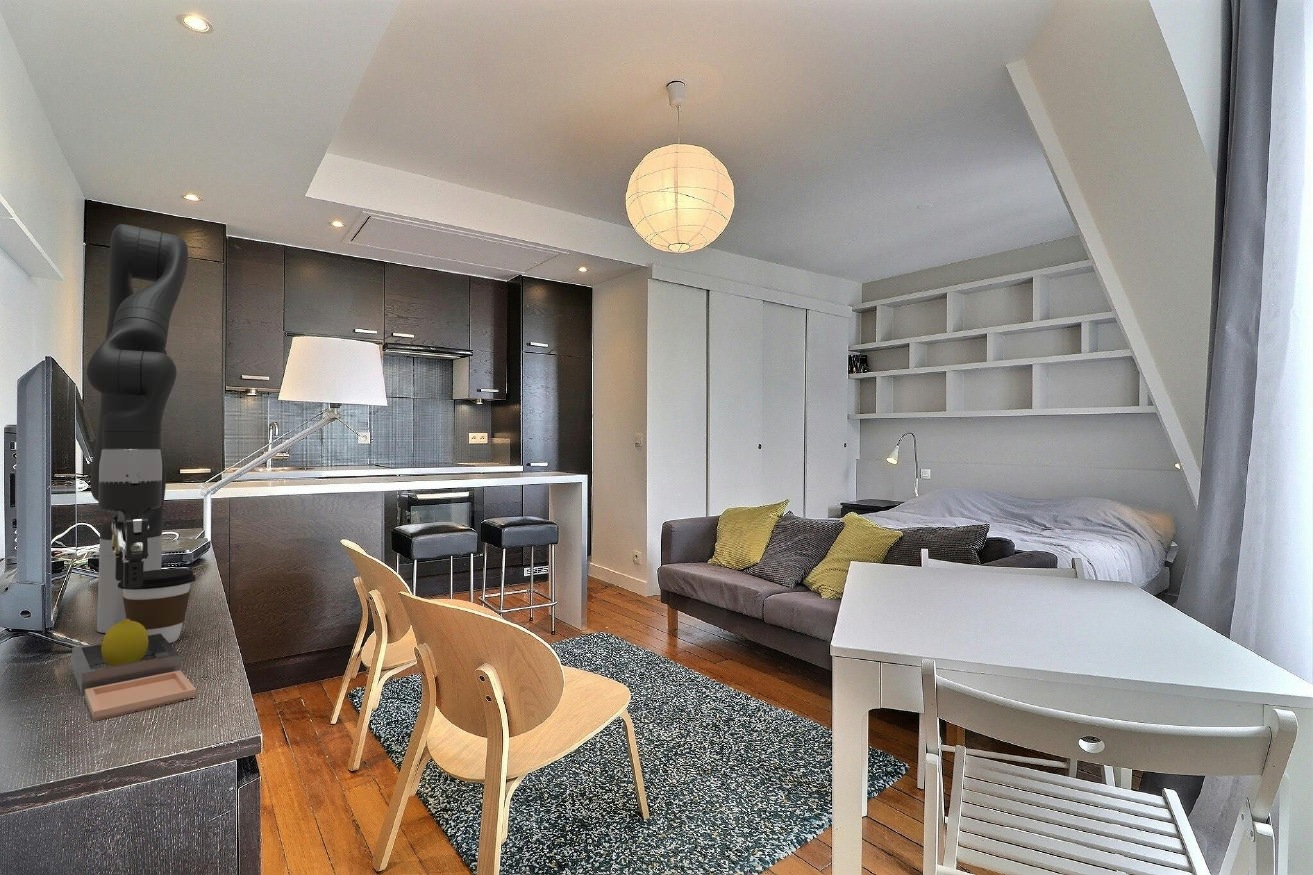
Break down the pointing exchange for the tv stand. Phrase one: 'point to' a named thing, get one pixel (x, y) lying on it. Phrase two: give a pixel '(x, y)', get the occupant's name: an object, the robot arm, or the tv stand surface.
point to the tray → (138, 694)
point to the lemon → (124, 643)
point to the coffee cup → (160, 601)
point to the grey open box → (92, 655)
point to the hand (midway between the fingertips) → (128, 583)
